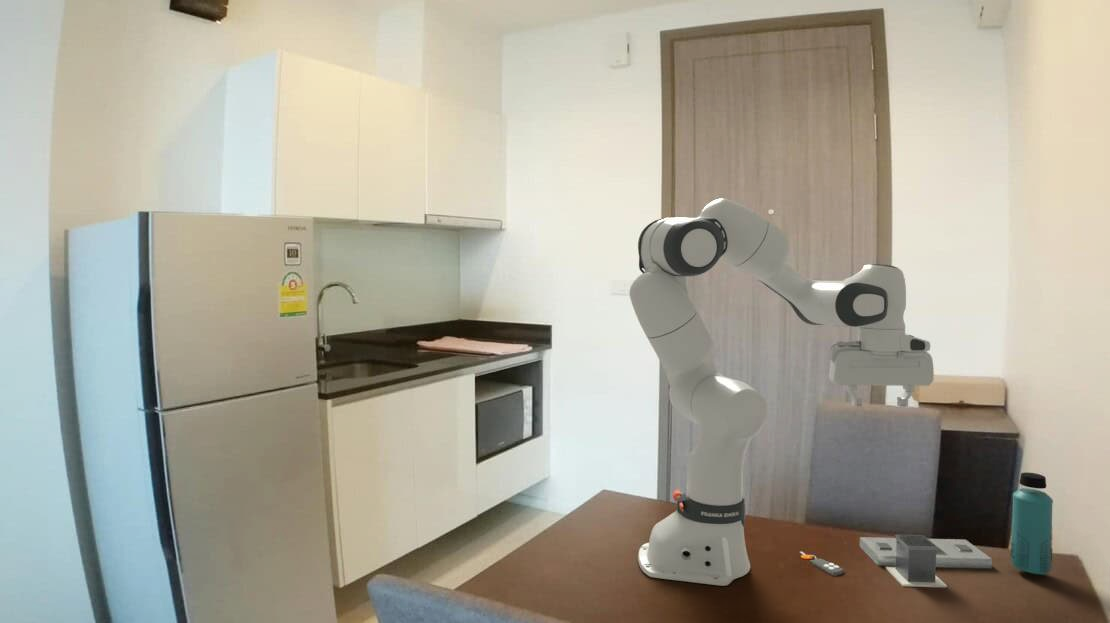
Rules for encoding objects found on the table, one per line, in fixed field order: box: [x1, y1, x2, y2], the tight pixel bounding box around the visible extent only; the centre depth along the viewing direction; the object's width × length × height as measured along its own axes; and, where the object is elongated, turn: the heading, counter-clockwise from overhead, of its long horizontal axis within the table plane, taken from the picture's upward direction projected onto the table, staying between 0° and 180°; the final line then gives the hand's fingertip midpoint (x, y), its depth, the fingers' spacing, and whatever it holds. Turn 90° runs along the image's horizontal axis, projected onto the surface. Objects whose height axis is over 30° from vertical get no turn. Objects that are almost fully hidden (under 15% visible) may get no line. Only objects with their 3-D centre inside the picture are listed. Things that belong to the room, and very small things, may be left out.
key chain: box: [799, 550, 845, 577], centre depth 129 cm, size 13×4×2 cm, turn 25°
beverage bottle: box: [1009, 471, 1054, 575], centre depth 122 cm, size 6×7×20 cm
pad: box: [885, 566, 948, 589], centre depth 121 cm, size 8×7×1 cm
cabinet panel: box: [859, 536, 993, 569], centre depth 130 cm, size 22×9×2 cm, turn 86°
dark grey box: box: [894, 534, 938, 583], centre depth 121 cm, size 5×5×7 cm
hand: (879, 406), depth 132 cm, fingers open, 8 cm apart
